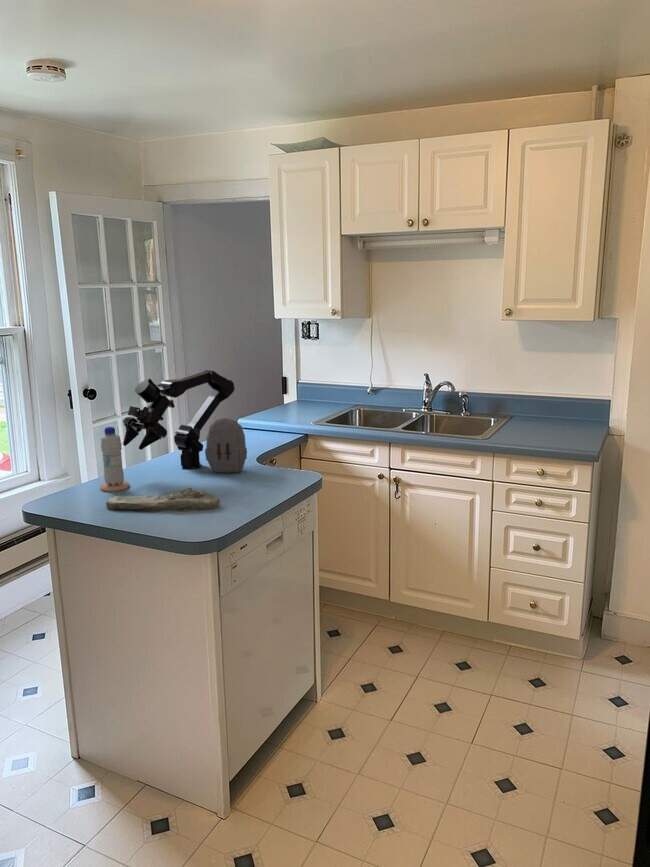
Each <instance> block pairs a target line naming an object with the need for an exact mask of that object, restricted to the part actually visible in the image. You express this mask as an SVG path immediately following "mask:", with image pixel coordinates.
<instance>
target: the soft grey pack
mask: <svg viewBox="0 0 650 867" xmlns="http://www.w3.org/2000/svg"><path fill="white" fill-rule="evenodd" d="M246 445H247V444H246V435H245V432H244V429H243V426H242V425H241V424H239V423H238V422H237V420H234V419H230V418H225V417H224V418H220V419H216V420H215V421H214V422H212V424H210V425H209V428H208V433H207V436H206V447H205V449H204V453H205V460H206V461H207V463H208V465H209V467H210V470H211V471H212V472H216V473H226V474H227V473H228V474H230V473H232V474H233V473H237V472H242V471H243V469H244V466H245V463H246V460H247V458H248V454H247V453H248V450H247V446H246Z"/></svg>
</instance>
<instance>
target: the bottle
mask: <svg viewBox="0 0 650 867" xmlns="http://www.w3.org/2000/svg"><path fill="white" fill-rule="evenodd" d="M103 432H104V435H102V436H101V437H100V448H101V452H102V458H103V459H102V461H103V478H104V483H106V484H107V485H108V486H111V484H112V486H115V483H117V485H118V486H119V485H120V484H122V483H123V482H124V481H125V475H124V468H123V459H122V458H123V457H122V449H123V448H122V445H123V443H122V441H121V436H120V435H119V434H117V433H116V428H115V427H113V426H107V427H105V428H104V431H103Z"/></svg>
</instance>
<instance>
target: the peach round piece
mask: <svg viewBox="0 0 650 867" xmlns="http://www.w3.org/2000/svg"><path fill="white" fill-rule="evenodd" d="M126 488H127V489H128V488H130V482H129V481H127V480H124V482H123V483H122V484H120V485H119V486H118V485H117V483H115V486H112V484H111V486H108V485H107V484H106V483H105V482H103V483H101V484H99V490H100V489H101V490H103V491H102V492H105V491H114V492H119V491H120V490H121V491H124V490H127V489H126ZM101 490H100V491H101Z"/></svg>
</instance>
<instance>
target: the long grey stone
mask: <svg viewBox="0 0 650 867" xmlns="http://www.w3.org/2000/svg"><path fill="white" fill-rule="evenodd" d="M105 504H106V509H107V510H111V509H113V510H122V511H124V510H128V511H135V512H138V511H147V512H151V511H152V512H160V511H172V512H176V511H178V512H182V511H181V510H183V511H191V510H198V511H200V510H206V509H213V508H217V506H218V505H219V504H220V499H219V498H218V497H217V496H215V495H213V494H210V493H209V492H206V491H202V490H201V491H199V490H197V489H192V487H186V488H184V489H182V490H178V491H177V492H176V491H174V492H171V493H169V494H164V495H163V494H162V495H161V494H155V495H154V494H151V495H149V494H147V495H122V494H121V495H116V496H112V497H110V498H107V501H106V503H105Z"/></svg>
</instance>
